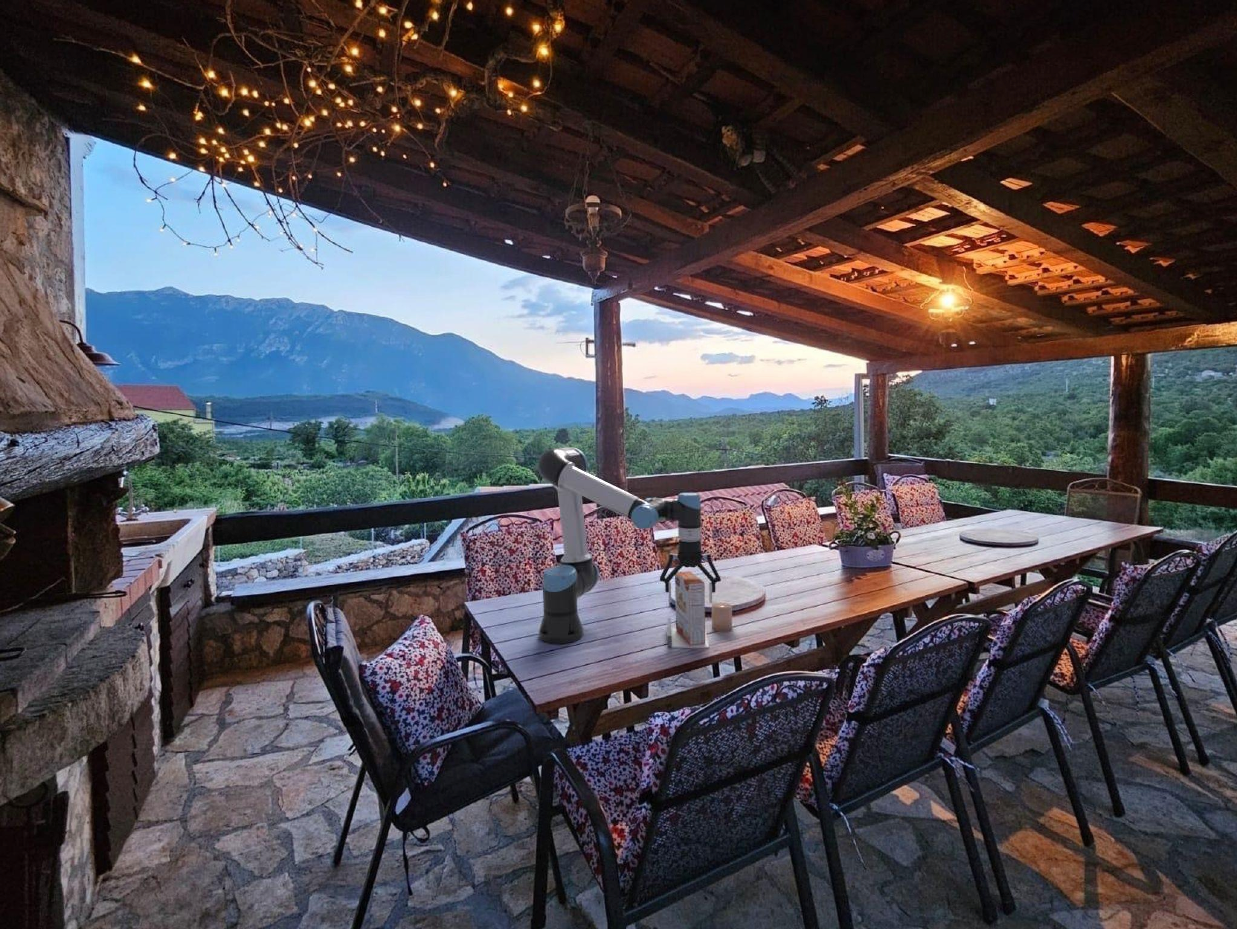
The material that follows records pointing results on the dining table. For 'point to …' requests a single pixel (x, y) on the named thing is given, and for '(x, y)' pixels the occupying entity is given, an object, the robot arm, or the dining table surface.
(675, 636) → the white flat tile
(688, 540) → the robot arm
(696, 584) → the cracker box
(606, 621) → the dining table surface
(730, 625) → the peach domed knob
